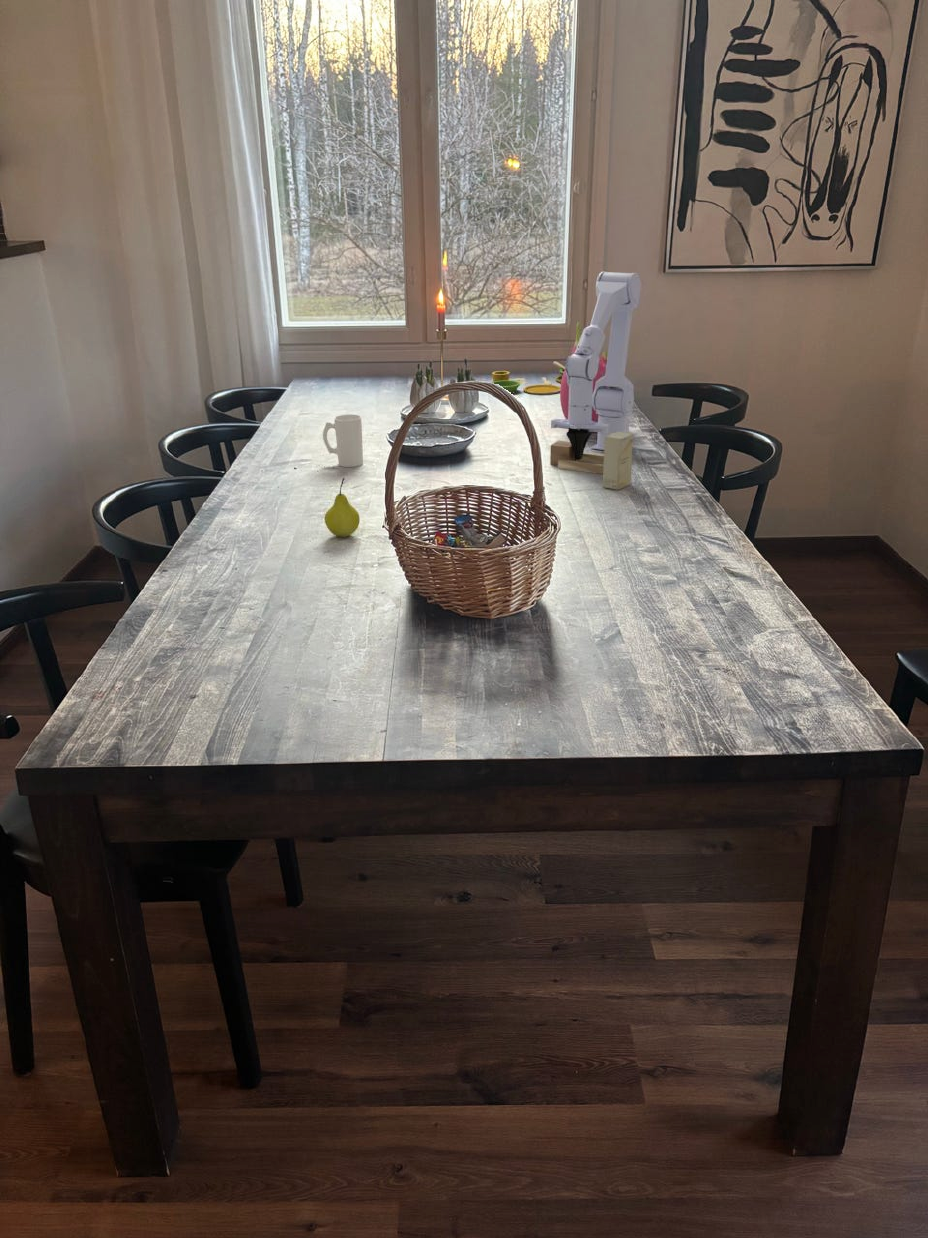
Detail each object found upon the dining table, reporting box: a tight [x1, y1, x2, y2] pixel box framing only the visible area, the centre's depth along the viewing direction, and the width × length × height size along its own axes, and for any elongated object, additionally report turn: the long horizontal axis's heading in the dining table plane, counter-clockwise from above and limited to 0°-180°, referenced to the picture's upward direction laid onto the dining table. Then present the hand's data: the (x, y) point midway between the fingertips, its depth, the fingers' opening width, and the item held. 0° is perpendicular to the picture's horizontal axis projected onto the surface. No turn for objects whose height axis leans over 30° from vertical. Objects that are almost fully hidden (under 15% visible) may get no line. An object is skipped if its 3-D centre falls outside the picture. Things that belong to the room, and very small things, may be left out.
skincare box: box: [602, 431, 634, 491], centre depth 223 cm, size 6×4×12 cm
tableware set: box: [491, 360, 566, 396], centre depth 326 cm, size 41×28×6 cm
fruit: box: [323, 477, 361, 538], centre depth 196 cm, size 7×7×12 cm
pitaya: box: [559, 321, 611, 422], centre depth 265 cm, size 18×14×30 cm
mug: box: [322, 413, 364, 468], centre depth 244 cm, size 10×7×12 cm, turn 86°
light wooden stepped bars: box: [557, 452, 604, 475], centre depth 240 cm, size 9×12×2 cm
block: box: [549, 440, 576, 466], centre depth 242 cm, size 5×5×5 cm
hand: (578, 458), depth 241 cm, fingers closed
